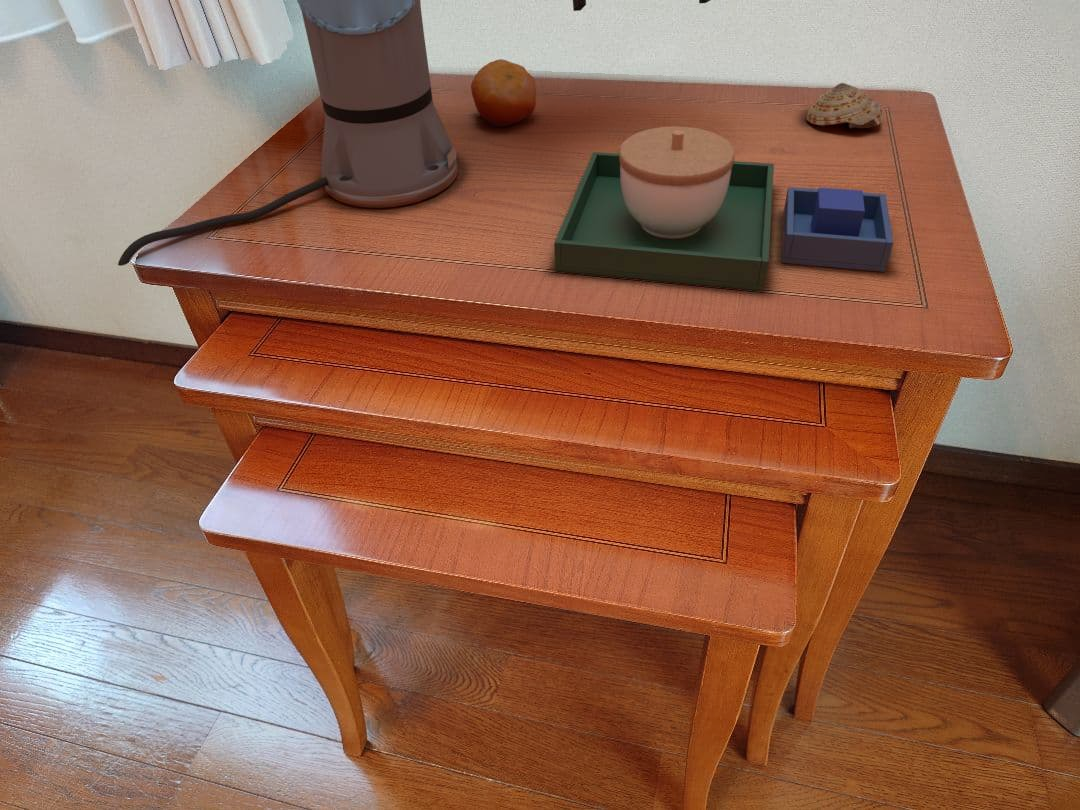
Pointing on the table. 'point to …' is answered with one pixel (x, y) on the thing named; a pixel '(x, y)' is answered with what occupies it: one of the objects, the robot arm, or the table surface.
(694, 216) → the trinket box
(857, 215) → the blue block
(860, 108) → the seashell
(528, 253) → the table surface
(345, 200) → the robot arm
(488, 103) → the fruit
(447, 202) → the table surface
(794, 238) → the blue tray
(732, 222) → the green tray
